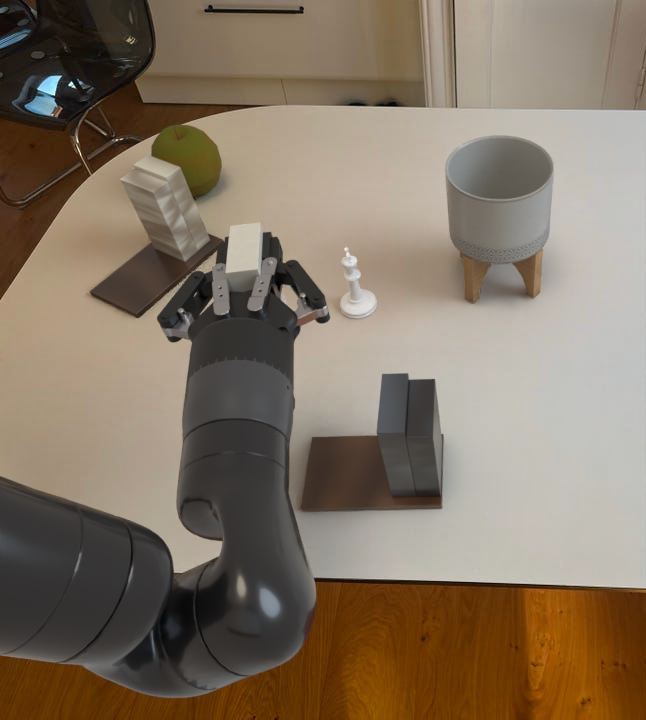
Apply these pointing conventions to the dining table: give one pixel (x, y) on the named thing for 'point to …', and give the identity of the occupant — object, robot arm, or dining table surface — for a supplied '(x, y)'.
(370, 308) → the chess piece
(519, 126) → the dining table surface
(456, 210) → the planter
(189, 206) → the white book stand
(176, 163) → the apple
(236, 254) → the white book
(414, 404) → the grey book stand
